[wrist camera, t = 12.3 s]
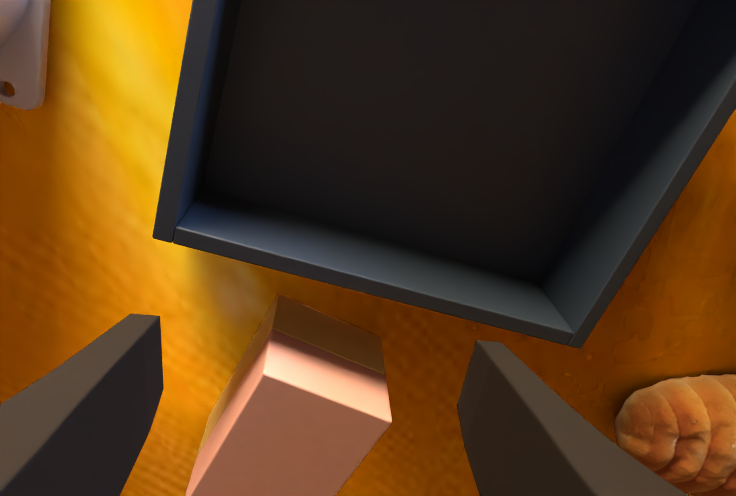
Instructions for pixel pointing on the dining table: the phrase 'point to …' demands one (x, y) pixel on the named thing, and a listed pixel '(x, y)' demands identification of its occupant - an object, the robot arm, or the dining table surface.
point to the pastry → (684, 432)
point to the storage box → (446, 145)
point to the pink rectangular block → (295, 409)
